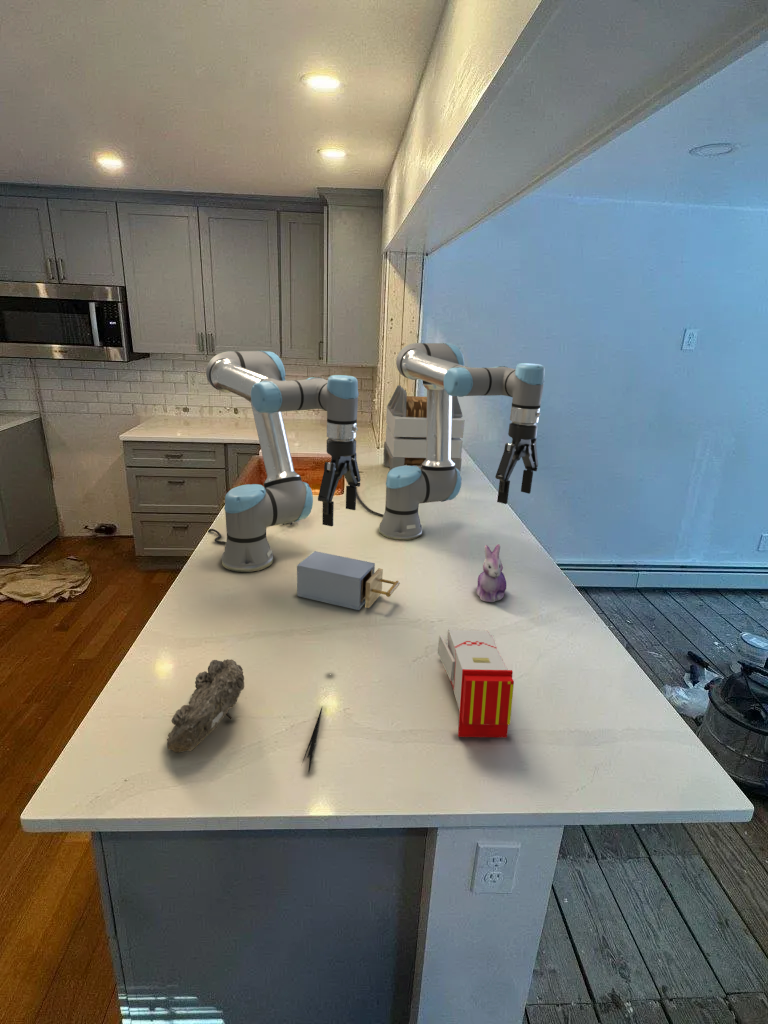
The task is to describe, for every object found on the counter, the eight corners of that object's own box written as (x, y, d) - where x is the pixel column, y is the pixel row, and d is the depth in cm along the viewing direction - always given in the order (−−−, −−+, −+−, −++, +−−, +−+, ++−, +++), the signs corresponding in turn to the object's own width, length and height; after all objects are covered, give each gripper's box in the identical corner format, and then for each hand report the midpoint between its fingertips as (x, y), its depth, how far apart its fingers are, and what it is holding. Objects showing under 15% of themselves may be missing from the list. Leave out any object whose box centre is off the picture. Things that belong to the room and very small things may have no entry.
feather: (331, 679, 122) (336, 673, 122) (307, 777, 96) (313, 769, 95) (324, 675, 122) (329, 669, 121) (298, 772, 95) (304, 764, 95)
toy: (488, 613, 130) (523, 677, 101) (484, 667, 133) (517, 744, 104) (435, 612, 130) (455, 676, 101) (432, 666, 133) (451, 743, 103)
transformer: (382, 463, 289) (386, 382, 275) (445, 464, 293) (451, 384, 279) (390, 482, 257) (394, 392, 243) (460, 483, 261) (468, 394, 247)
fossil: (192, 660, 117) (244, 628, 112) (224, 691, 120) (276, 661, 115) (142, 746, 98) (202, 712, 93) (182, 779, 101) (242, 748, 96)
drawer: (400, 597, 154) (401, 572, 152) (388, 612, 146) (389, 587, 144) (325, 580, 161) (326, 557, 159) (310, 594, 153) (310, 570, 151)
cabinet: (373, 593, 158) (374, 563, 154) (359, 610, 148) (360, 578, 145) (314, 580, 163) (314, 550, 160) (297, 596, 154) (296, 565, 151)
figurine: (488, 606, 153) (494, 555, 148) (466, 590, 161) (471, 541, 156) (515, 600, 157) (522, 550, 152) (493, 584, 166) (498, 536, 160)
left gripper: (332, 450, 131) (330, 535, 139) (374, 431, 153) (371, 505, 160) (303, 446, 134) (303, 529, 141) (349, 428, 156) (347, 500, 163)
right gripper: (513, 431, 142) (504, 510, 149) (556, 419, 160) (546, 491, 167) (487, 426, 146) (479, 503, 153) (532, 415, 164) (523, 485, 171)
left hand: (339, 516), depth 151 cm, fingers open, 13 cm apart
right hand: (514, 497), depth 160 cm, fingers open, 13 cm apart
